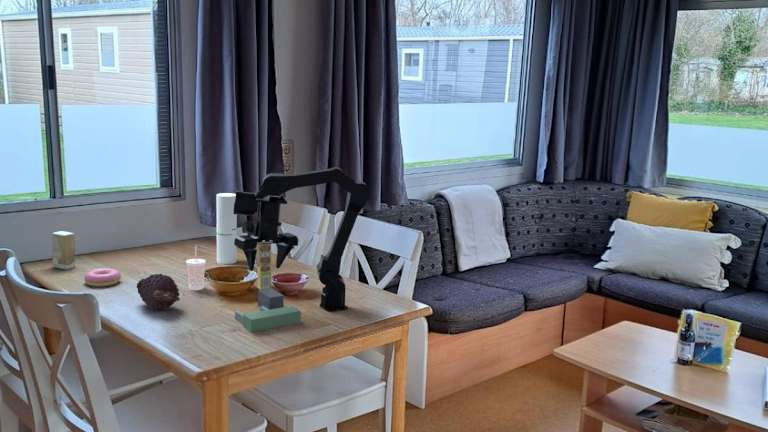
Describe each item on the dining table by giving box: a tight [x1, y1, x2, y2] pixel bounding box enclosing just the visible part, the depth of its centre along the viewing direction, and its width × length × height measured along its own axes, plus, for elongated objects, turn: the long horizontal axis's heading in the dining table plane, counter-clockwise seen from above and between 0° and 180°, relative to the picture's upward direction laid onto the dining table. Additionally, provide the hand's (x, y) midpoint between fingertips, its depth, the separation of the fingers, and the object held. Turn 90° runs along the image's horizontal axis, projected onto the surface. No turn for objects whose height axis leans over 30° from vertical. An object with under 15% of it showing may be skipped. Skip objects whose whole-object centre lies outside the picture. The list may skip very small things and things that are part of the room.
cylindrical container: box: [216, 192, 238, 265], centre depth 246 cm, size 7×7×25 cm
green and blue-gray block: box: [234, 305, 302, 333], centre depth 189 cm, size 15×12×4 cm
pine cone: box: [136, 273, 181, 310], centre depth 195 cm, size 18×10×10 cm, turn 53°
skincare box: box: [51, 230, 76, 270], centre depth 231 cm, size 6×4×12 cm
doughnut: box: [83, 267, 122, 288], centre depth 217 cm, size 11×11×4 cm
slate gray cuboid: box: [257, 287, 285, 310], centre depth 199 cm, size 4×8×5 cm, turn 35°
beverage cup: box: [185, 245, 207, 291], centre depth 214 cm, size 6×6×14 cm
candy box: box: [253, 244, 272, 290], centre depth 220 cm, size 9×4×15 cm, turn 33°
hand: (264, 269), depth 197 cm, fingers open, 9 cm apart
